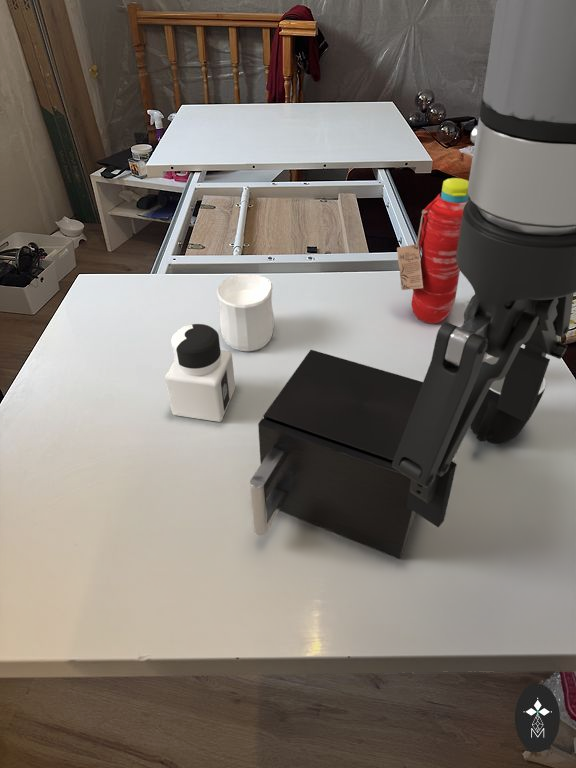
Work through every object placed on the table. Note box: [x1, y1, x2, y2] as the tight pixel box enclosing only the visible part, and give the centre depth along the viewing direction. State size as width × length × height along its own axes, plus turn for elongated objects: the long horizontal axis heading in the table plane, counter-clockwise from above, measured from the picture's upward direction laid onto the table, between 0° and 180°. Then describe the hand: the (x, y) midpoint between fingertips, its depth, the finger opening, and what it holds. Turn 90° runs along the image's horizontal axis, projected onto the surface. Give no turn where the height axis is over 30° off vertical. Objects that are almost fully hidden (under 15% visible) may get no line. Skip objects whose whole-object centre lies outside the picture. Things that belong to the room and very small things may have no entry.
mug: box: [469, 356, 547, 444], centre depth 73 cm, size 12×9×10 cm
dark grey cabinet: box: [262, 349, 423, 550], centre depth 65 cm, size 13×18×15 cm
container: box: [164, 323, 236, 423], centre depth 77 cm, size 8×8×13 cm
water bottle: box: [396, 177, 470, 324], centre depth 90 cm, size 12×8×25 cm, turn 89°
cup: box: [216, 273, 275, 352], centre depth 91 cm, size 10×10×10 cm
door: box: [249, 417, 413, 560], centre depth 58 cm, size 7×18×15 cm, turn 64°
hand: (472, 459), depth 43 cm, fingers open, 13 cm apart
